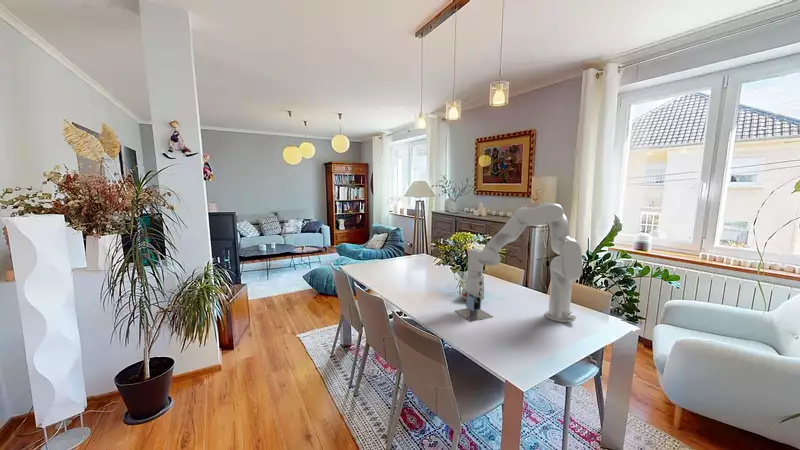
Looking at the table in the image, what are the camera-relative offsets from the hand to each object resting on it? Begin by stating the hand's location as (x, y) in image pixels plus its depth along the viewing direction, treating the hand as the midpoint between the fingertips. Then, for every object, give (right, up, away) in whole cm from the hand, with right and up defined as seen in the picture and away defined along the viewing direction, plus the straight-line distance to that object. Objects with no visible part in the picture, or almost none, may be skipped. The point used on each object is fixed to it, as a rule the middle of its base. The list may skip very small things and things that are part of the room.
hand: (473, 306), depth 158 cm
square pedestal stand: (0, -4, 0) cm, 4 cm away
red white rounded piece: (+3, -2, +20) cm, 21 cm away
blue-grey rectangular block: (0, -1, 0) cm, 1 cm away
